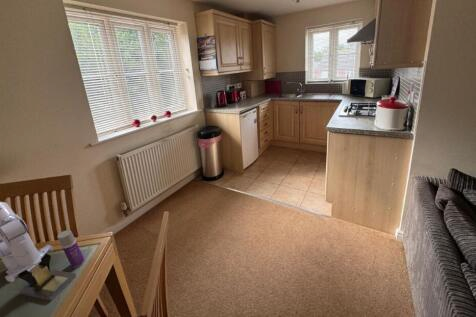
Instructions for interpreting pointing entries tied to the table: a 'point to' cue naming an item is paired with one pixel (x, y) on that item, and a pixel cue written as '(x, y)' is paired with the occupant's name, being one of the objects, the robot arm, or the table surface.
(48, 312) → the table surface
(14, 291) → the table surface
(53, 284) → the rail plate
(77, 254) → the container
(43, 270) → the tan rectangular block
